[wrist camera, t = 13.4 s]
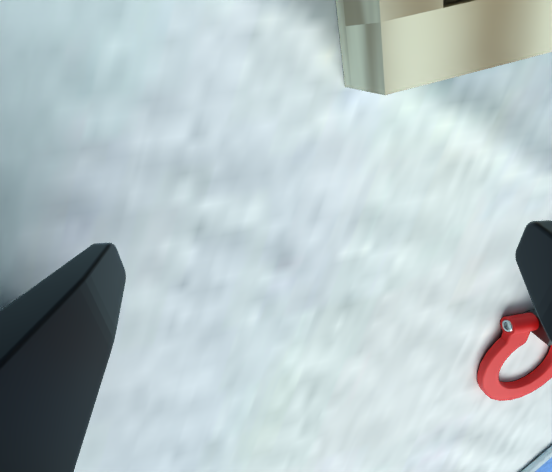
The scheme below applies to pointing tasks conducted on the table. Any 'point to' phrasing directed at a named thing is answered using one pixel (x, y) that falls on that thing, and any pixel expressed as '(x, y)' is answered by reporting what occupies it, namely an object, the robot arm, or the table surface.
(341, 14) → the socket block
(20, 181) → the table surface
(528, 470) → the tablet computer
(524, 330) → the tow hook
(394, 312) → the table surface
